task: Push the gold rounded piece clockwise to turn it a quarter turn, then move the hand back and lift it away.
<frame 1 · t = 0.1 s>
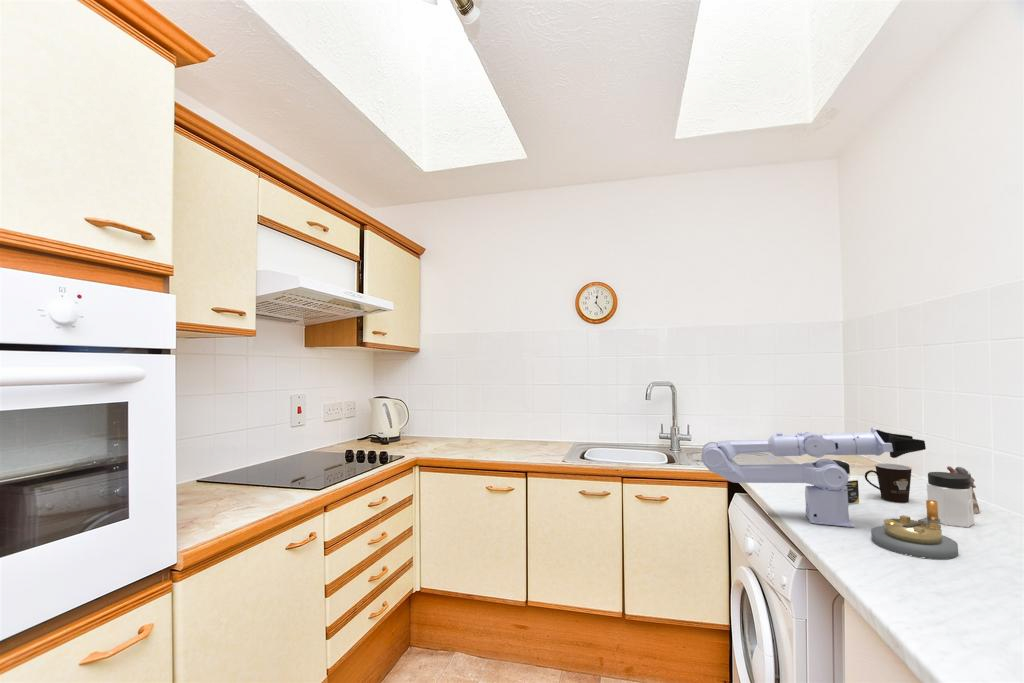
hand: (918, 442, 118), 22 cm above the table, tool horizontal, fingers open, 7 cm apart
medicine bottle: (839, 501, 142), on the table
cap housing: (913, 545, 107), on the table
jar: (951, 522, 122), on the table
coffee mug: (888, 499, 143), on the table
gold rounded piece: (917, 519, 108), point 6 cm above the table, hinge at 0.0°
figurine: (962, 510, 132), on the table
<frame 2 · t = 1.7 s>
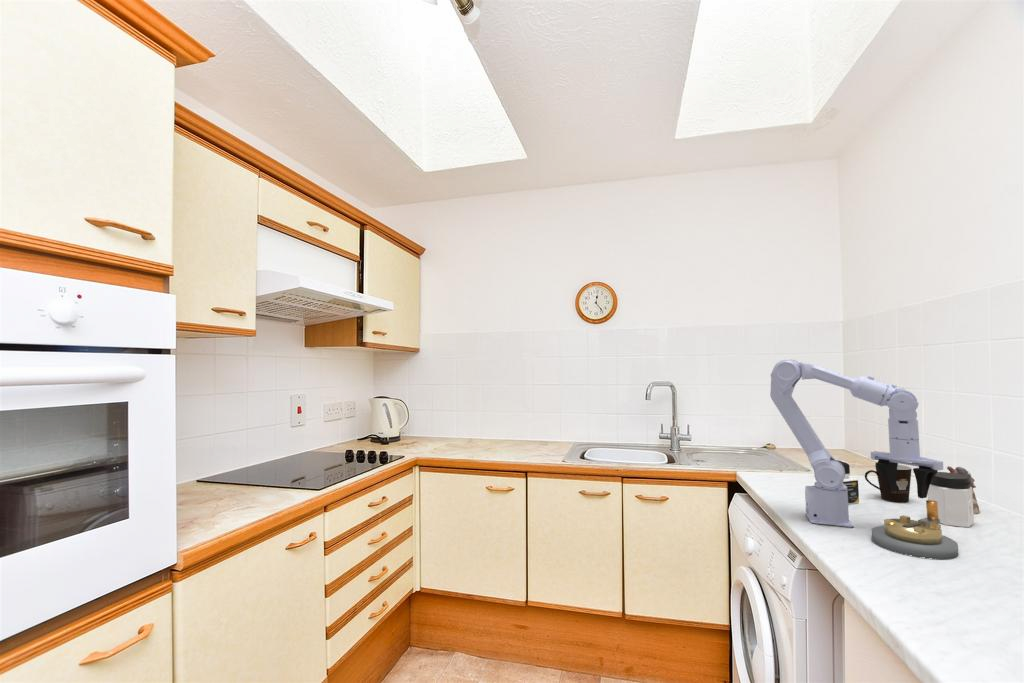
hand: (907, 494, 115), 9 cm above the table, tool pointing down, fingers open, 6 cm apart
nothing on the table moved.
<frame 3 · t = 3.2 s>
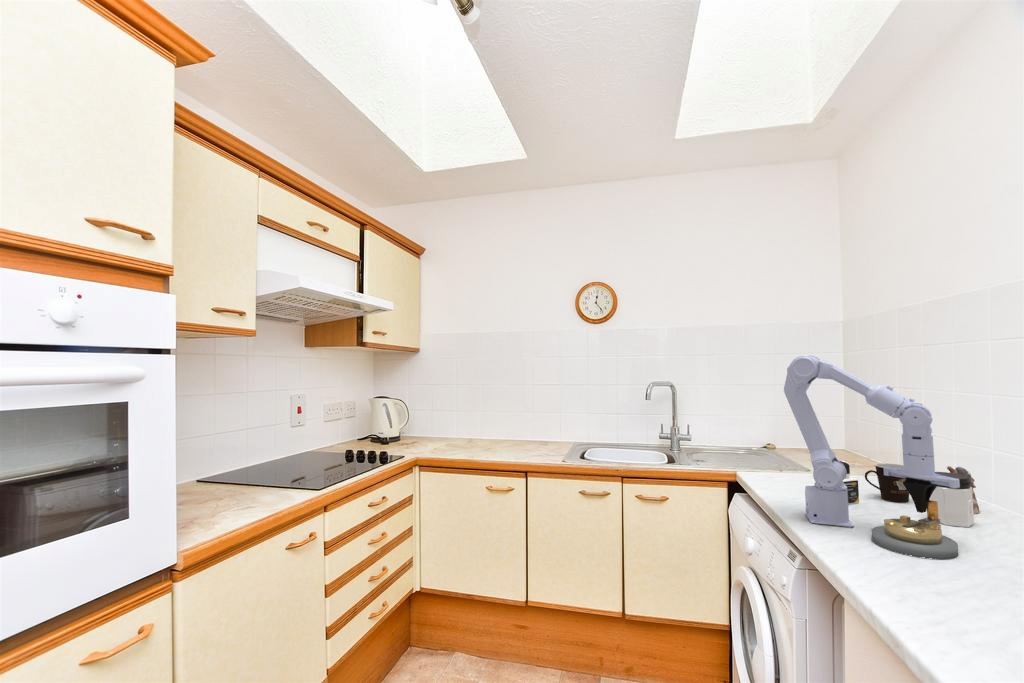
hand: (921, 511, 113), 6 cm above the table, tool pointing down, fingers closed
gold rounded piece: (917, 519, 108), point 6 cm above the table, hinge at 0.3°, touching gripper
everything else where it was.
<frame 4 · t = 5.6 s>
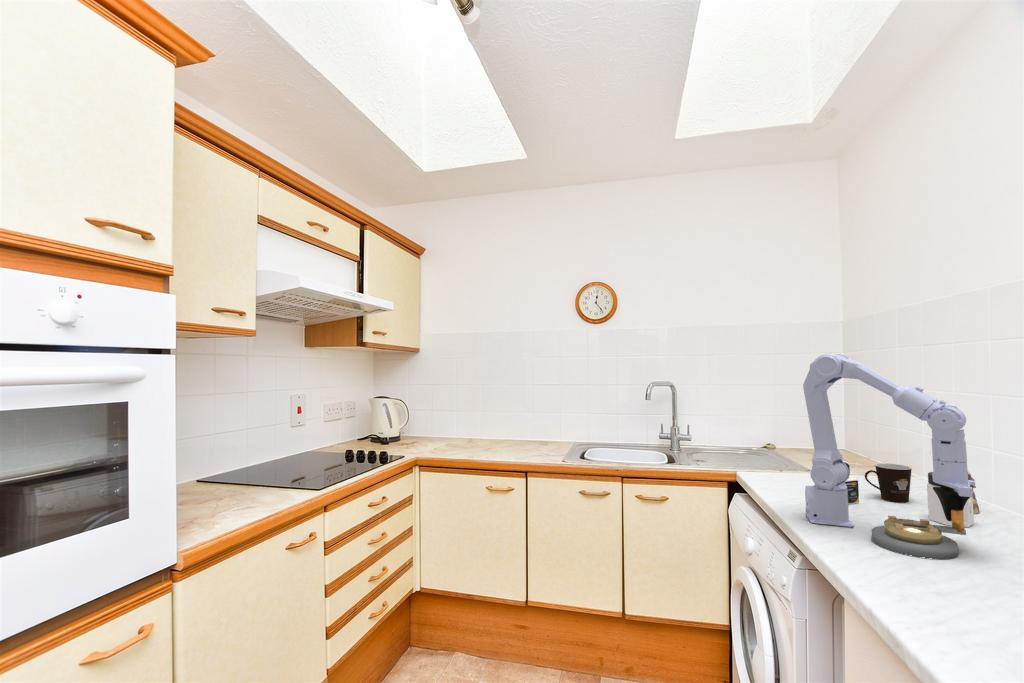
hand: (953, 521, 106), 6 cm above the table, tool pointing down, fingers closed
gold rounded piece: (922, 522, 107), point 6 cm above the table, hinge at 49.3°, touching gripper
everything else where it was.
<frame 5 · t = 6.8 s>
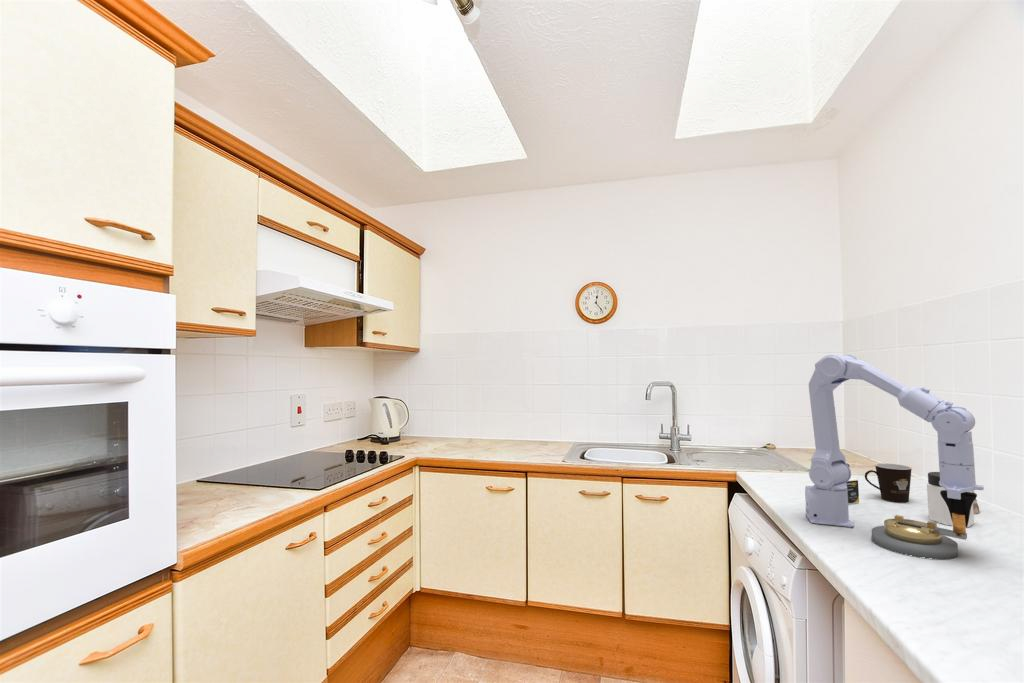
hand: (960, 526, 103), 6 cm above the table, tool pointing down, fingers closed
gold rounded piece: (923, 523, 106), point 6 cm above the table, hinge at 73.5°, touching gripper
everything else where it was.
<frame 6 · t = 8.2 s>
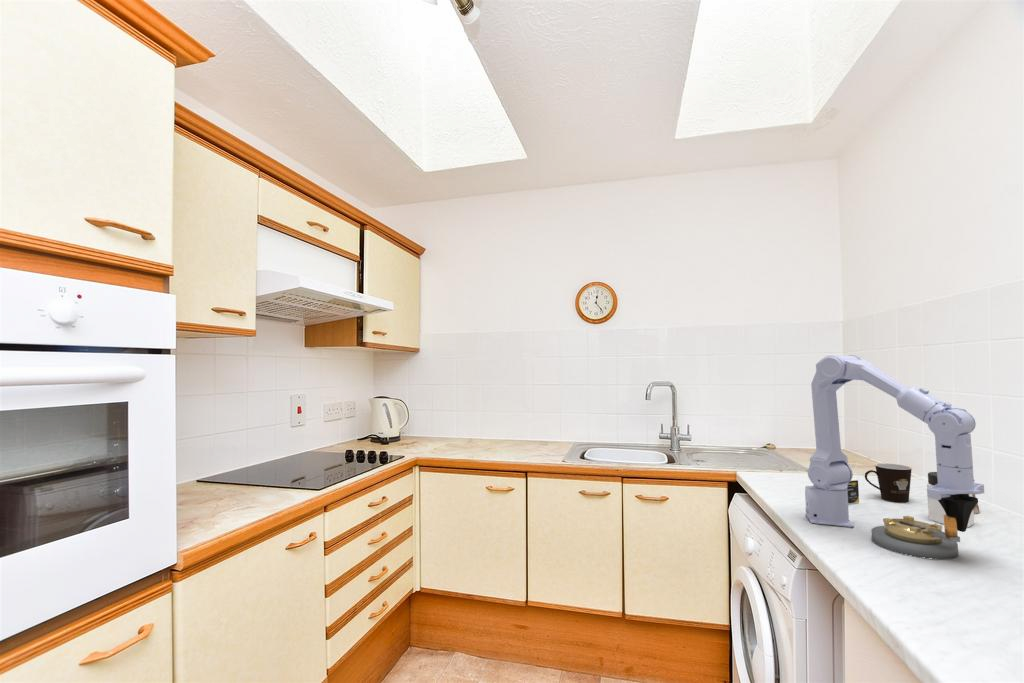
hand: (958, 530, 100), 6 cm above the table, tool pointing down, fingers closed
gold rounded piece: (921, 523, 106), point 6 cm above the table, hinge at 99.2°, touching gripper
everything else where it was.
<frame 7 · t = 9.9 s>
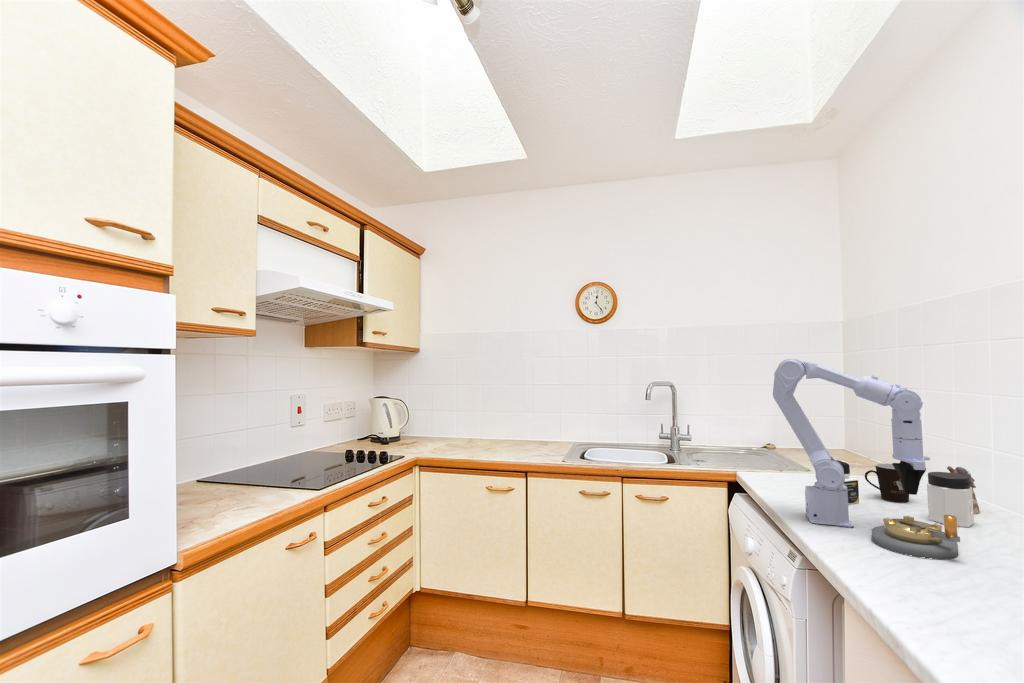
hand: (910, 493, 116), 9 cm above the table, tool pointing down, fingers closed
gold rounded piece: (921, 523, 106), point 6 cm above the table, hinge at 99.3°
everything else where it was.
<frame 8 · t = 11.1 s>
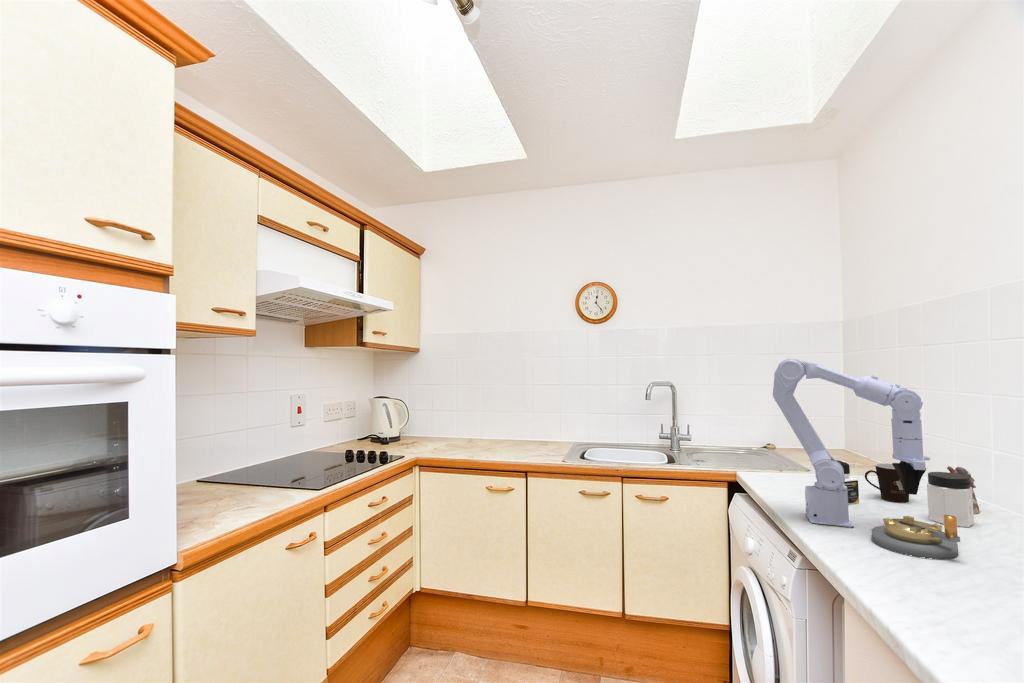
hand: (910, 493, 116), 9 cm above the table, tool pointing down, fingers closed
nothing on the table moved.
at the end: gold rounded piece at +99° (first picture: +0°); jar moved 0.2 cm from its start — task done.
